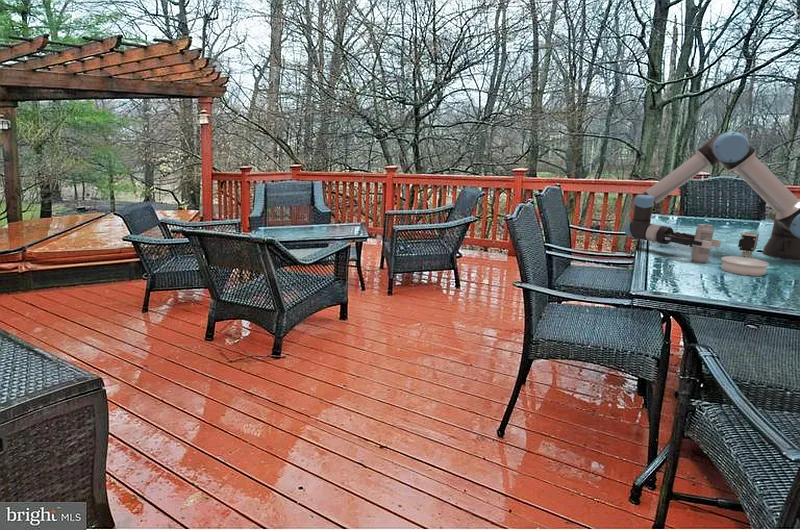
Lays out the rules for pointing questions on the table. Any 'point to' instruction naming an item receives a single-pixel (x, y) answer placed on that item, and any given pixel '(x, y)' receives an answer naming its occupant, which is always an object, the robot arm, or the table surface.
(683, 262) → the table surface
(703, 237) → the energy drink can
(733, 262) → the pedestal
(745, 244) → the pneumatic valve
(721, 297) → the table surface
